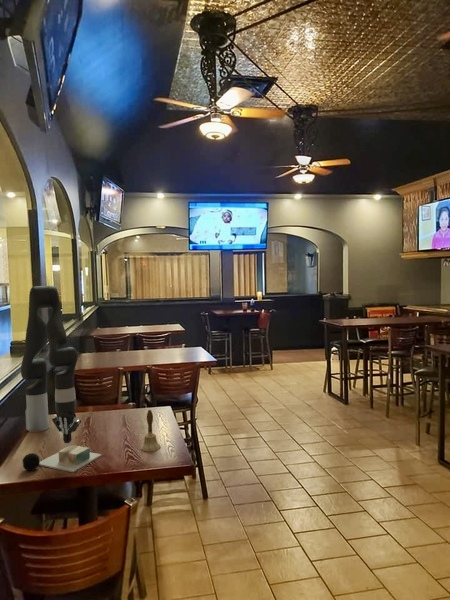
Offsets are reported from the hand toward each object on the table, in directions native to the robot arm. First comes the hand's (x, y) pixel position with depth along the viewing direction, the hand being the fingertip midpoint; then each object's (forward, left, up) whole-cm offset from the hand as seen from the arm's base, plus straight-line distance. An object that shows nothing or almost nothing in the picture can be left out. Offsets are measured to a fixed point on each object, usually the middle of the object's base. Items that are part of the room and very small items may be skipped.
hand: (67, 442), depth 180 cm
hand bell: (+23, +22, -7) cm, 33 cm away
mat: (0, 0, -7) cm, 7 cm away
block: (-2, 0, -5) cm, 5 cm away
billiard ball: (-7, -11, -7) cm, 16 cm away
